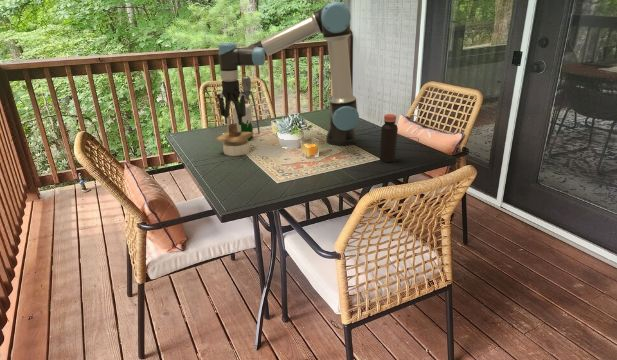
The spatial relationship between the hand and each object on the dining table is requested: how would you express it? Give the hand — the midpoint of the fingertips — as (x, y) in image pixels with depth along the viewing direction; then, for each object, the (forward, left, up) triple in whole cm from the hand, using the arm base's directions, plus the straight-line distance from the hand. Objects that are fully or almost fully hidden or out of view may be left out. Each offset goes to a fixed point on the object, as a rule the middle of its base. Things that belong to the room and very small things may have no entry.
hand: (234, 131), depth 192 cm
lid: (0, 0, -3) cm, 3 cm away
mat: (-15, -4, -10) cm, 19 cm away
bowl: (0, 0, -10) cm, 10 cm away
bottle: (-70, -4, -11) cm, 71 cm away
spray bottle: (+7, -34, -11) cm, 36 cm away
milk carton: (+4, -19, -11) cm, 22 cm away
